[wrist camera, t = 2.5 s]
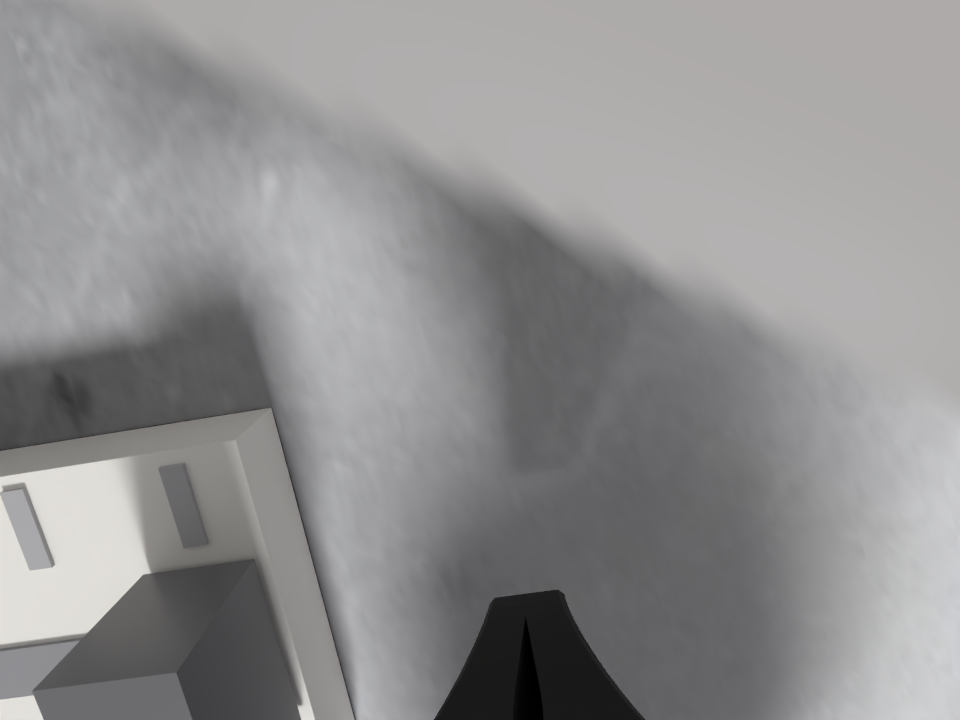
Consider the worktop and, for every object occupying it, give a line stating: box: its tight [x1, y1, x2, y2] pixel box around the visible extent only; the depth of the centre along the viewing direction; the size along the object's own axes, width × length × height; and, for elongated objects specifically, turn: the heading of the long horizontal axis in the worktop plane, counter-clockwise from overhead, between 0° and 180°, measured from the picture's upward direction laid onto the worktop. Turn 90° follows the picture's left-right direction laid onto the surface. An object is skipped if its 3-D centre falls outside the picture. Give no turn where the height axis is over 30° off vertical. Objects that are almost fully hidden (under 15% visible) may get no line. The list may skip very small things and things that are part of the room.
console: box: [0, 408, 355, 720], centre depth 15 cm, size 9×10×2 cm
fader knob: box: [32, 559, 301, 720], centre depth 12 cm, size 4×2×3 cm, turn 10°
